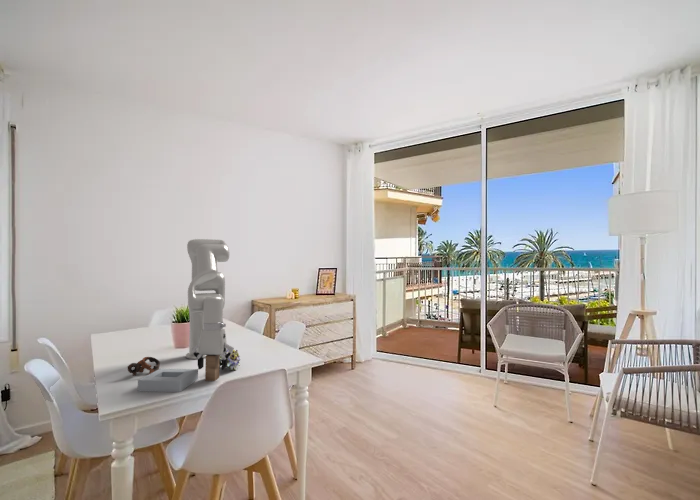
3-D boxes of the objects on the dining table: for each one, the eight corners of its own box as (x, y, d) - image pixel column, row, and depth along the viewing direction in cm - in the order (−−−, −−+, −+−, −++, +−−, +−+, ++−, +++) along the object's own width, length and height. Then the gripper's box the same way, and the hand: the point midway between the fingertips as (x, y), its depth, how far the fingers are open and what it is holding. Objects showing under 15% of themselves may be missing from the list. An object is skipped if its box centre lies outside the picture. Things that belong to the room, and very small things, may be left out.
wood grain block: (209, 377, 145) (210, 353, 145) (219, 377, 144) (219, 353, 145) (205, 380, 141) (205, 355, 141) (215, 381, 140) (215, 356, 141)
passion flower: (234, 382, 154) (232, 365, 147) (211, 377, 155) (208, 359, 148) (245, 362, 163) (243, 345, 157) (223, 357, 164) (220, 340, 157)
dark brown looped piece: (148, 370, 155) (157, 355, 155) (156, 384, 150) (165, 368, 150) (119, 371, 145) (129, 354, 145) (127, 385, 140) (137, 368, 140)
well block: (160, 378, 143) (160, 368, 144) (197, 378, 143) (198, 369, 143) (137, 391, 130) (137, 380, 130) (179, 391, 129) (179, 380, 129)
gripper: (237, 324, 146) (236, 366, 146) (196, 324, 147) (196, 365, 147) (230, 328, 139) (229, 371, 138) (187, 328, 140) (187, 371, 139)
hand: (212, 368), depth 143 cm, fingers open, 9 cm apart
